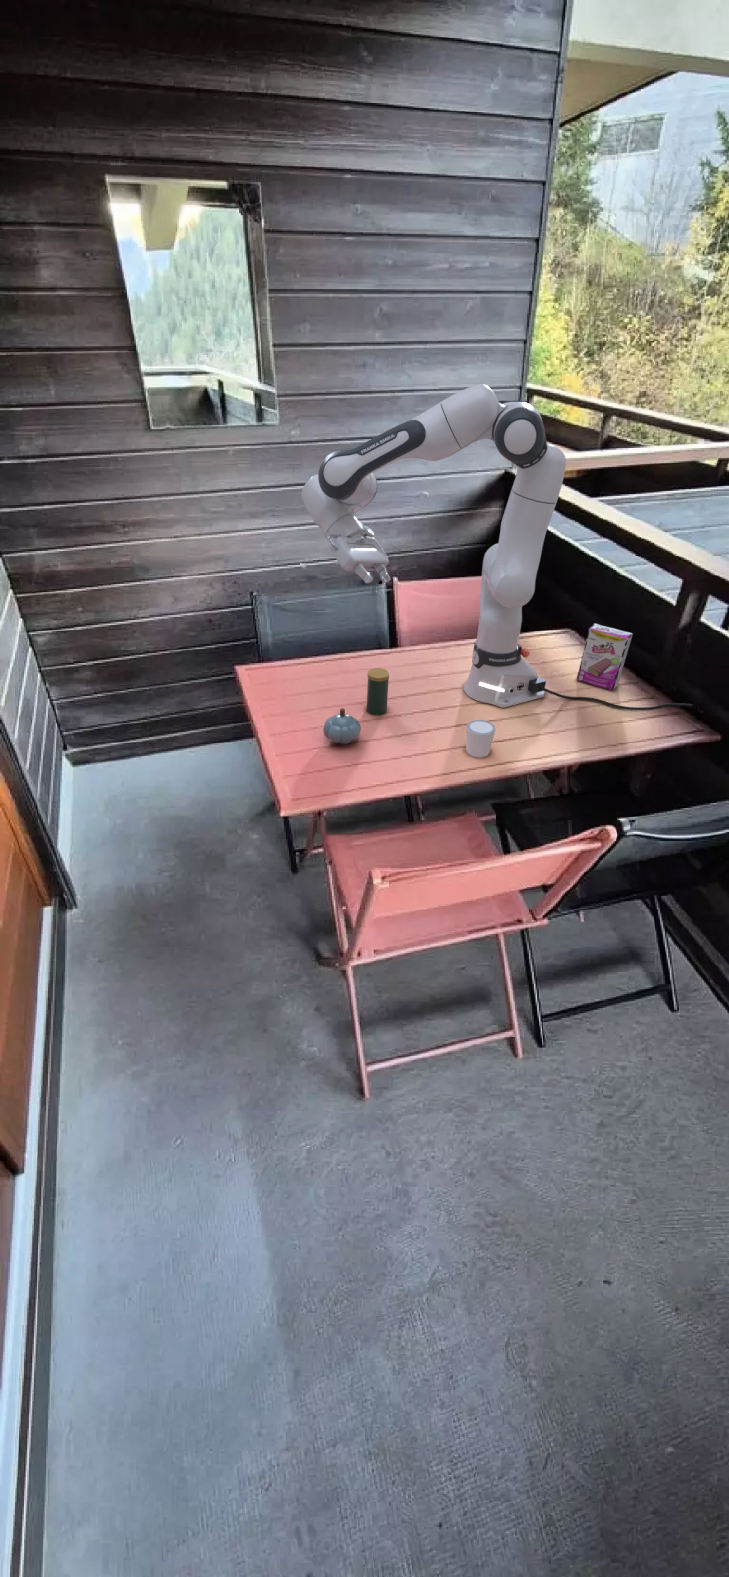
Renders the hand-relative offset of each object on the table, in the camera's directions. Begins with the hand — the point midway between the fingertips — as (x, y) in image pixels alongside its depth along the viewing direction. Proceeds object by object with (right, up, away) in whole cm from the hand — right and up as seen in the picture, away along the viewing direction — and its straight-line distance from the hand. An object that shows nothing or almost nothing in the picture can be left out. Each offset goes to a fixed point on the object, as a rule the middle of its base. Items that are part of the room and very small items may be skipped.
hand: (379, 581), depth 171 cm
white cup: (+24, -42, +1) cm, 48 cm away
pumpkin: (-9, -39, +3) cm, 40 cm away
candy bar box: (+64, -20, +32) cm, 74 cm away
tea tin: (0, -30, +15) cm, 33 cm away
